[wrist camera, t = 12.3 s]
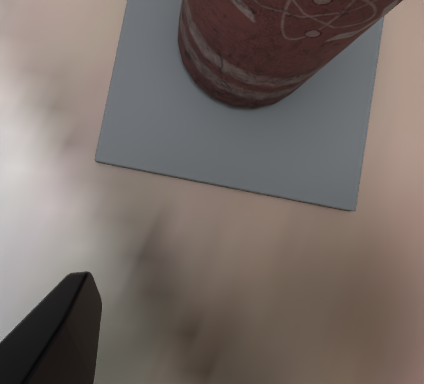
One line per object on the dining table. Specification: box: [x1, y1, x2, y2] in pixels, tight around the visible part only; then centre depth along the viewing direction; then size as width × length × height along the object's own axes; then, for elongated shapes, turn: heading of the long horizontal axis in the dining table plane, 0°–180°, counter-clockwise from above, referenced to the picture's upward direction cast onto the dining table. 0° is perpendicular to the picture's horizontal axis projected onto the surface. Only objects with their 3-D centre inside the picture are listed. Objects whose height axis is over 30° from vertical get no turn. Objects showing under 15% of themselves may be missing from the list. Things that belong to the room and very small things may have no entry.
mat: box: [95, 0, 384, 211], centre depth 18 cm, size 14×12×1 cm
